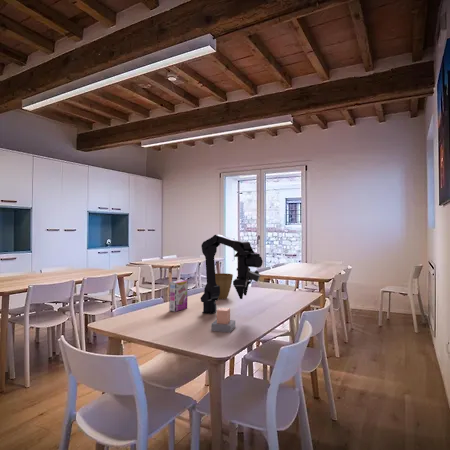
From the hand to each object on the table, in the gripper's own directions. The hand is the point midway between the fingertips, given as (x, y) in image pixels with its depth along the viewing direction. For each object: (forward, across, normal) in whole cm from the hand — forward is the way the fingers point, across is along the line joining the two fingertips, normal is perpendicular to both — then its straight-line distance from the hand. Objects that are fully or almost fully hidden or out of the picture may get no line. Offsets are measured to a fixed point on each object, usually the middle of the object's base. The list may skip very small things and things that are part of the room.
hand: (243, 297), depth 167 cm
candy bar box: (+12, +13, +41) cm, 45 cm away
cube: (+9, -15, +6) cm, 19 cm away
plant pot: (+12, +50, +26) cm, 58 cm away
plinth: (+12, -15, +6) cm, 20 cm away
